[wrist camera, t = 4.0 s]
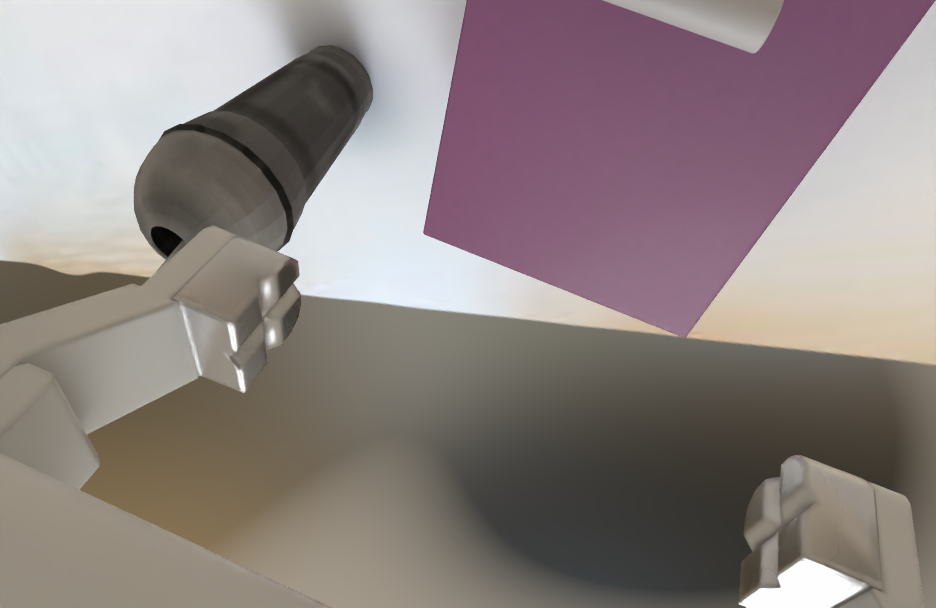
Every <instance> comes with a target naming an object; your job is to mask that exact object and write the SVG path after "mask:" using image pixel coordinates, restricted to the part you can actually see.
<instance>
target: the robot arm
mask: <svg viewBox="0 0 936 608" xmlns="http://www.w3.org/2000/svg"><path fill="white" fill-rule="evenodd" d="M298 276H299V267H298V261H297V260H295V259H293V258H291V257H288V256H286V255H284V254H281V253H279V252H277V251H274V250H272V249H269V248H267V247H265V246H262V245H260V244H258V243H255V242H253V241H251V240H248V239H246V238H243V237H241V236H238V235H236V234H233V233H231V232H228V231H226V230H223V229H221V228H219V227H216V226H214V225H213V226H210V227H207V228H205V229H203V230H201V231H200V232H199V233H198V234H197V235H196V236H195V237H194V238H193V239H192V240H191V241H189V242H188V243H187V244H186V245H185V246H184V247H183V248H182V249H181V250H180V251H179V252H178V253H177V254H175V255H174V256H173V257H172V258H171V259H170V260H169V261H168V262H167V263H166V264H165V265H164V266H163V267H161V268H160V269H159V270H158V271H157V272H156V273H155V274H154V275H153V276H152V277H151V278H150V279H148V280H147V281H146V282H145V283H144V284H143V285H142V286H141V287H140V286H138V285H135V284H130V285H127V286H124V287H121V288H117V289H114V290H111V291H108V292H104V293H101V294H98V295H94V296H91V297H88V298H85V299H81V300H78V301H75V302H72V303H69V304H65V305H62V306H59V307H55V308H52V309H49V310H46V311H42V312H39V313H36V314H33V315H29V316H26V317H23V318H20V319H17V320H13V321H10V322H7V323H4V324H0V608H331V607H329V606H327V605H325V604H323V603H321V602H319V601H316V600H314V599H312V598H310V597H308V596H306V595H303V594H301V593H299V592H297V591H295V590H293V589H291V588H289V587H286V586H284V585H282V584H280V583H278V582H276V581H274V580H271V579H269V578H267V577H265V576H262V575H261V574H259V573H256V572H254V571H252V570H250V569H248V568H246V567H244V566H241V565H239V564H237V563H235V562H233V561H231V560H228V559H226V558H224V557H222V556H220V555H218V554H216V553H213V552H211V551H209V550H207V549H205V548H203V547H201V546H199V545H196V544H194V543H192V542H190V541H188V540H186V539H184V538H181V537H179V536H177V535H175V534H173V533H171V532H169V531H166V530H164V529H162V528H160V527H158V526H156V525H154V524H151V523H149V522H147V521H145V520H143V519H141V518H139V517H136V516H134V515H132V514H130V513H128V512H126V511H124V510H121V509H119V508H117V507H115V506H113V505H111V504H108V503H106V502H104V501H102V500H100V499H98V498H96V497H93V496H91V495H89V494H87V493H85V492H83V491H81V490H79V489H80V488H81V487H82V486H83V485H84V484H85V483H86V481H87V480H88V479H89V478H90V477H91V476H92V474H93V473H94V472H95V471H96V470H97V469H98V467H99V465H100V464H99V456H98V454H97V453H96V451H95V449H94V447H93V445H92V444H91V442H90V440H89V438H88V437H87V434H88V433H90V432H93V431H94V430H96V429H98V428H100V427H102V426H104V425H106V424H108V423H110V422H112V421H114V420H116V419H118V418H120V417H122V416H124V415H126V414H128V413H130V412H132V411H134V410H136V409H138V408H140V407H142V406H144V405H146V404H148V403H150V402H151V401H154V400H156V399H157V398H160V397H161V396H163V395H165V394H167V393H169V392H171V391H173V390H175V389H177V388H179V387H181V386H183V385H185V384H187V383H189V382H191V381H193V380H195V379H197V378H198V375H200V376H203V377H205V378H208V379H210V380H213V381H215V382H218V383H221V384H223V385H226V386H228V387H231V388H233V389H236V390H238V391H241V392H243V393H245V391H246V390H247V389H248V388H249V386H250V385H251V384H252V382H253V381H254V380H255V379H256V377H257V376H258V375H259V373H260V372H261V371H262V370H263V368H264V367H265V366H266V365H267V352H266V350H269V349H271V348H274V347H277V346H279V345H282V344H283V342H284V341H285V340H286V338H287V337H288V336H289V334H290V333H291V332H292V329H293V327H294V325H295V323H296V321H297V318H298V316H299V311H300V306H301V294H300V292H299V291H298V290H297V288H296V287H295V285H294V284H293V283H294V281H295V280H296V279H297V278H298ZM744 536H745V538H746V540H747V542H748V543H749V545H750V548H751V550H752V551H753V552H752V553H751V554H750V555H749V556H748V557H746V558H745V559H744V560H743V561H742V565H741V580H740V596H739V604H741V605H743V606H745V607H747V608H925V607H924V600H923V593H922V585H921V578H920V570H919V563H918V556H917V549H916V542H915V534H914V526H913V519H912V512H911V505H910V503H909V501H908V500H907V498H906V496H904V495H901V494H898V493H896V492H893V491H891V490H888V489H886V488H883V487H880V486H878V485H875V484H873V483H870V482H866V481H865V480H864V479H862V478H859V477H856V476H854V475H851V474H848V473H846V472H843V471H840V470H838V469H835V468H832V467H830V466H827V465H825V464H822V463H819V462H817V461H814V460H811V459H809V458H806V457H803V456H801V455H795V456H791V457H790V458H788V459H787V460H786V461H785V462H784V463H783V464H782V465H781V477H777V478H771V479H766V480H765V481H764V482H763V483H762V484H761V485H760V486H759V487H758V488H757V489H756V491H755V493H754V494H753V496H752V499H751V501H750V503H749V505H748V508H747V512H746V517H745V524H744Z"/></svg>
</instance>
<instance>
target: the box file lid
mask: <svg viewBox="0 0 936 608" xmlns="http://www.w3.org/2000/svg"><path fill="white" fill-rule="evenodd" d="M934 2H935V0H467V3H466V8H465V13H464V19H463V24H462V29H461V35H460V40H459V45H458V51H457V56H456V61H455V66H454V72H453V77H452V82H451V88H450V93H449V98H448V104H447V109H446V114H445V120H444V125H443V130H442V136H441V141H440V146H439V152H438V157H437V162H436V168H435V173H434V178H433V184H432V189H431V194H430V200H429V205H428V210H427V216H426V221H425V226H424V232H423V233H424V234H425V235H427V236H430V237H432V238H435V239H437V240H440V241H442V242H445V243H447V244H450V245H452V246H455V247H457V248H460V249H462V250H465V251H468V252H470V253H473V254H475V255H478V256H480V257H483V258H485V259H488V260H490V261H493V262H495V263H498V264H500V265H503V266H505V267H508V268H510V269H513V270H515V271H518V272H520V273H523V274H525V275H528V276H530V277H533V278H535V279H538V280H540V281H543V282H545V283H548V284H551V285H553V286H556V287H558V288H561V289H563V290H566V291H568V292H571V293H573V294H576V295H578V296H581V297H583V298H586V299H588V300H591V301H593V302H596V303H598V304H601V305H603V306H606V307H608V308H611V309H613V310H616V311H618V312H621V313H623V314H626V315H628V316H631V317H633V318H636V319H639V320H641V321H644V322H646V323H649V324H651V325H654V326H656V327H659V328H661V329H664V330H666V331H669V332H671V333H674V334H676V335H679V336H681V337H684V338H685V337H686V336H687V335H688V333H689V332H690V331H691V329H692V328H693V327H694V325H695V324H696V323H697V321H698V320H699V319H700V317H701V316H702V315H703V313H704V312H705V310H706V309H707V308H708V306H709V305H710V304H711V302H712V301H713V300H714V298H715V297H716V296H717V294H718V293H719V292H720V290H721V289H722V288H723V286H724V285H725V284H726V282H727V281H728V279H729V278H730V277H731V275H732V274H733V273H734V271H735V270H736V269H737V267H738V266H739V265H740V263H741V262H742V261H743V259H744V258H745V257H746V255H747V254H748V253H749V251H750V250H751V248H752V247H753V246H754V244H755V243H756V242H757V240H758V239H759V238H760V236H761V235H762V234H763V232H764V231H765V230H766V228H767V227H768V226H769V224H770V223H771V222H772V220H773V219H774V217H775V216H776V215H777V213H778V212H779V211H780V209H781V208H782V207H783V205H784V204H785V203H786V201H787V200H788V199H789V197H790V196H791V195H792V193H793V192H794V190H795V189H796V188H797V186H798V185H799V184H800V182H801V181H802V180H803V178H804V177H805V176H806V174H807V173H808V172H809V170H810V169H811V168H812V166H813V165H814V164H815V162H816V161H817V159H818V158H819V157H820V155H821V154H822V153H823V151H824V150H825V149H826V147H827V146H828V145H829V143H830V142H831V141H832V139H833V138H834V137H835V135H836V134H837V133H838V131H839V130H840V128H841V127H842V126H843V124H844V123H845V122H846V120H847V119H848V118H849V116H850V115H851V114H852V112H853V111H854V110H855V108H856V107H857V106H858V104H859V103H860V101H861V100H862V99H863V97H864V96H865V95H866V93H867V92H868V91H869V89H870V88H871V87H872V85H873V84H874V83H875V81H876V80H877V79H878V77H879V76H880V75H881V73H882V72H883V70H884V69H885V68H886V66H887V65H888V64H889V62H890V61H891V60H892V58H893V57H894V56H895V54H896V53H897V52H898V50H899V49H900V48H901V46H902V45H903V44H904V42H905V41H906V39H907V38H908V37H909V35H910V34H911V33H912V31H913V30H914V29H915V27H916V26H917V25H918V23H919V22H920V21H921V19H922V18H923V17H924V15H925V14H926V13H927V11H928V10H929V8H930V7H931V6H932V4H933V3H934Z"/></svg>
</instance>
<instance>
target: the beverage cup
mask: <svg viewBox="0 0 936 608" xmlns="http://www.w3.org/2000/svg"><path fill="white" fill-rule="evenodd" d="M371 102H372V85H371V82H370V78H369V76H368V74H367V73H366V71H365V69H364V68H363V66H362V65H361V64H360V63H359V62H358V61H357V60H356V59H355V57H354V56H352V55H351V54H349V53H348V52H346V51H344V50H343V49H340V48H337V47H333V46H320V47H318V48H316V49H314V50H312V51H310V52H309V53H308V54H305V55H303V56H301V57H299V58H297V59H295V60H293V61H292V62H290V63H288V64H287V65H285V66H284V67H282V68H281V69H279V70H277V71H276V72H274V73H273V74H271V75H269V76H268V77H266V78H265V79H263V80H262V81H260V82H258V83H257V84H255V85H254V86H252V87H250V88H249V89H247V90H246V91H244V92H243V93H241V94H239V95H238V96H236V97H235V98H233V99H231V100H230V101H228V102H227V103H225V104H224V105H222V106H220V107H219V108H217V109H216V110H214V111H211V112H208V113H206V114H204V115H202V116H199V117H197V118H195V119H193V120H191V121H188V122H186V123H184V124H179V125H176V126H174V127H172V128H170V129H168V130H166V131H164V133H163V134H162V136H161V138H160V139H159V141H158V142H157V144H156V145H155V146H154V147H153V148H152V150H151V151H150V152H149V154H148V155H147V157H146V159H145V160H144V162H143V163H142V165H141V167H140V169H139V171H138V174H137V176H136V180H135V186H134V211H135V215H136V218H137V221H138V224H139V227H140V230H141V231H142V233H143V235H144V236H145V238H146V239H147V241H148V243H149V244H150V245H151V247H152V248H153V249H154V250H155V251H156V252H157V253H158V254H159V255H160V256H162V257H163V258H164V259H165V260H166V261H165V262H164V263H163V264H162V265H161V267H163V266H164V265H165V264H166V263H167V262H168V261H169V260H170V259H171V258H172V257H173V256H174V255H175V254H177V253H178V252H179V251H180V250H181V249H182V248H183V247H184V246H185V245H186V244H187V243H188V242H189V241H191V240H192V239H193V238H194V237H195V236H196V235H197V234H198V233H199V232H200V231H201V230H203V229H205V228H207V227H210V226H213V225H214V226H216V227H219V228H221V229H223V230H226V231H228V232H231V233H233V234H236V235H238V236H241V237H243V238H246V239H248V240H251V241H253V242H255V243H258V244H260V245H262V246H265V247H267V248H269V249H272V250H274V251H279V250H280V249H281V248H282V247H283V246H284V245H286V244H287V243H288V242H289V241H290V238H291V235H292V232H293V229H294V228H295V226H296V224H297V222H298V220H299V218H300V216H301V214H302V212H303V208H304V205H305V203H306V202H307V200H308V199H309V198H310V196H311V195H312V193H313V192H314V190H315V189H316V187H317V186H318V184H319V183H320V181H321V180H322V179H323V177H324V176H325V174H326V173H327V171H328V170H329V168H330V167H331V165H332V164H333V163H334V161H335V160H336V158H337V157H338V155H339V154H340V152H341V151H342V149H343V148H344V146H345V145H346V144H347V142H348V141H349V139H350V138H351V136H352V135H353V133H354V132H355V130H356V129H357V128H358V126H359V125H360V123H361V120H362V118H363V116H364V115H365V112H366V111H367V110H368V109H369V107H370V105H371ZM161 267H160V268H161ZM160 268H159V269H160ZM159 269H158V270H159ZM158 270H157V271H158ZM157 271H156V272H157Z"/></svg>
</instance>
